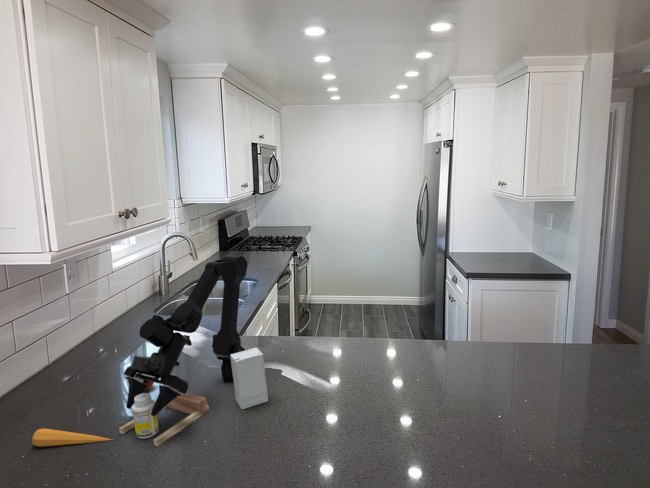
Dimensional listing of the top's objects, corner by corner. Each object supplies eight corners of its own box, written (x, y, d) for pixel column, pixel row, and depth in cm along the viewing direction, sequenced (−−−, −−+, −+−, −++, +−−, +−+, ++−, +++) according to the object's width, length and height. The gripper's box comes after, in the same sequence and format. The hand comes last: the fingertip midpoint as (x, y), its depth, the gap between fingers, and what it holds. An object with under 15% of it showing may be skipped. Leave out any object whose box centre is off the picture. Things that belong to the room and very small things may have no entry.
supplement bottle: (152, 424, 122) (147, 389, 120) (163, 431, 118) (158, 395, 116) (132, 435, 118) (126, 398, 116) (142, 442, 114) (137, 404, 112)
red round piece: (149, 394, 139) (146, 370, 137) (132, 394, 140) (129, 369, 139) (160, 385, 144) (156, 361, 143) (143, 385, 146) (140, 361, 144)
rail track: (173, 400, 134) (171, 387, 134) (209, 410, 127) (207, 397, 127) (119, 433, 119) (117, 418, 118) (157, 446, 112) (155, 431, 111)
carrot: (32, 451, 115) (26, 440, 113) (41, 435, 119) (36, 424, 116) (112, 453, 115) (108, 442, 113) (119, 437, 119) (115, 426, 117)
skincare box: (262, 393, 135) (257, 346, 132) (269, 402, 129) (264, 353, 127) (234, 401, 131) (229, 352, 129) (240, 411, 126) (234, 360, 123)
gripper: (124, 337, 122) (92, 394, 114) (174, 346, 113) (143, 409, 105) (152, 353, 130) (124, 408, 122) (200, 363, 121) (173, 423, 113)
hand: (139, 411), depth 116 cm, fingers open, 9 cm apart
